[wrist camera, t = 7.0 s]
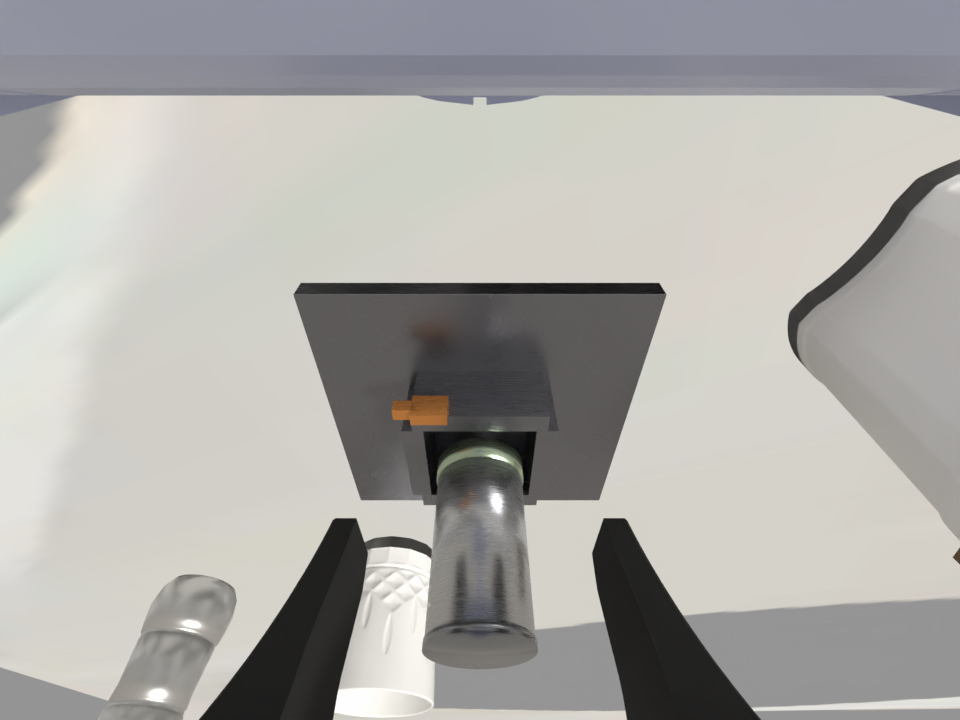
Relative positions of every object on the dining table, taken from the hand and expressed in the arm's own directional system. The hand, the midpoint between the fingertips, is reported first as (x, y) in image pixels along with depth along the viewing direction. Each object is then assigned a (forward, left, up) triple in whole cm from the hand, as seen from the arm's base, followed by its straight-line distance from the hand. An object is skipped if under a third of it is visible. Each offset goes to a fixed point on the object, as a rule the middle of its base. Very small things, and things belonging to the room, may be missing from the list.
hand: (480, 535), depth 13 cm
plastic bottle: (+28, -25, -11) cm, 39 cm away
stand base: (+5, 0, -10) cm, 12 cm away
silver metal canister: (+5, 0, -7) cm, 8 cm away
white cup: (+23, -7, -11) cm, 27 cm away
